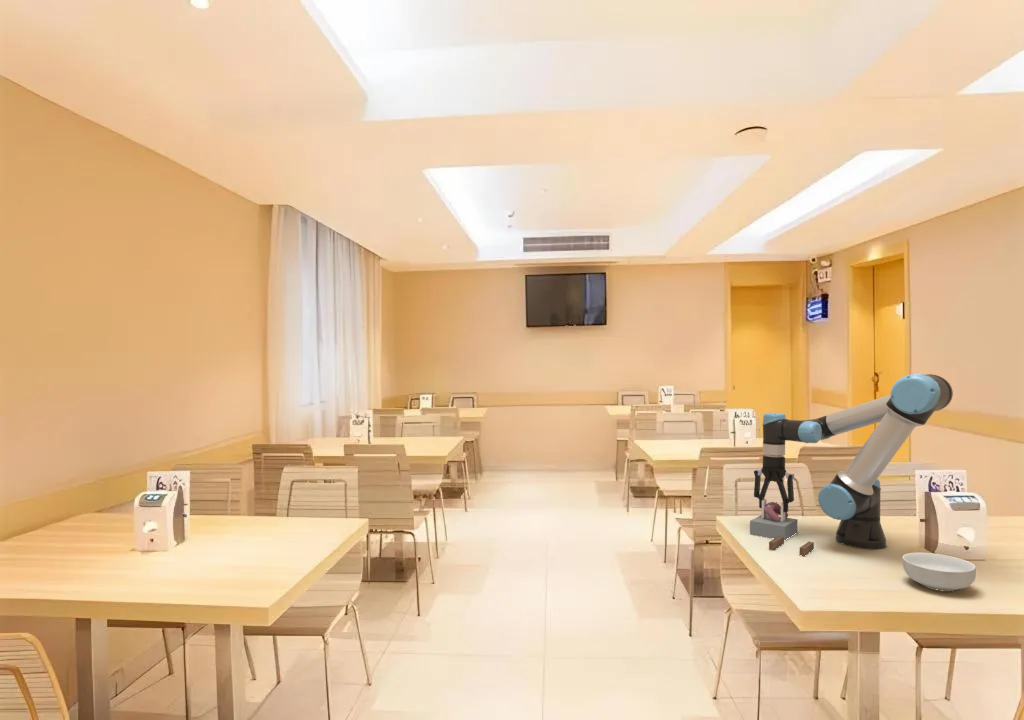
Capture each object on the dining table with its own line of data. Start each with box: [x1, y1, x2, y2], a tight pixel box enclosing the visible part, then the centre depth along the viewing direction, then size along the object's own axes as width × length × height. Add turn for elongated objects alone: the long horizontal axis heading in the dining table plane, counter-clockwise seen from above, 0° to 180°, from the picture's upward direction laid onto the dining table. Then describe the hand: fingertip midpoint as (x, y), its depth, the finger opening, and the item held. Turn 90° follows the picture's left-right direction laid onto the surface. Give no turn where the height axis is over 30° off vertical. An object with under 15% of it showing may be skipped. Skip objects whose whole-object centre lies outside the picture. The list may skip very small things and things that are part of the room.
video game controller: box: [764, 501, 789, 522], centre depth 222 cm, size 10×5×7 cm, turn 137°
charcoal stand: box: [749, 514, 799, 541], centre depth 220 cm, size 12×14×5 cm
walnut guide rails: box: [768, 536, 815, 557], centre depth 201 cm, size 11×10×2 cm
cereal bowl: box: [901, 552, 977, 592], centre depth 168 cm, size 17×17×7 cm
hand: (773, 519), depth 221 cm, fingers open, 6 cm apart
